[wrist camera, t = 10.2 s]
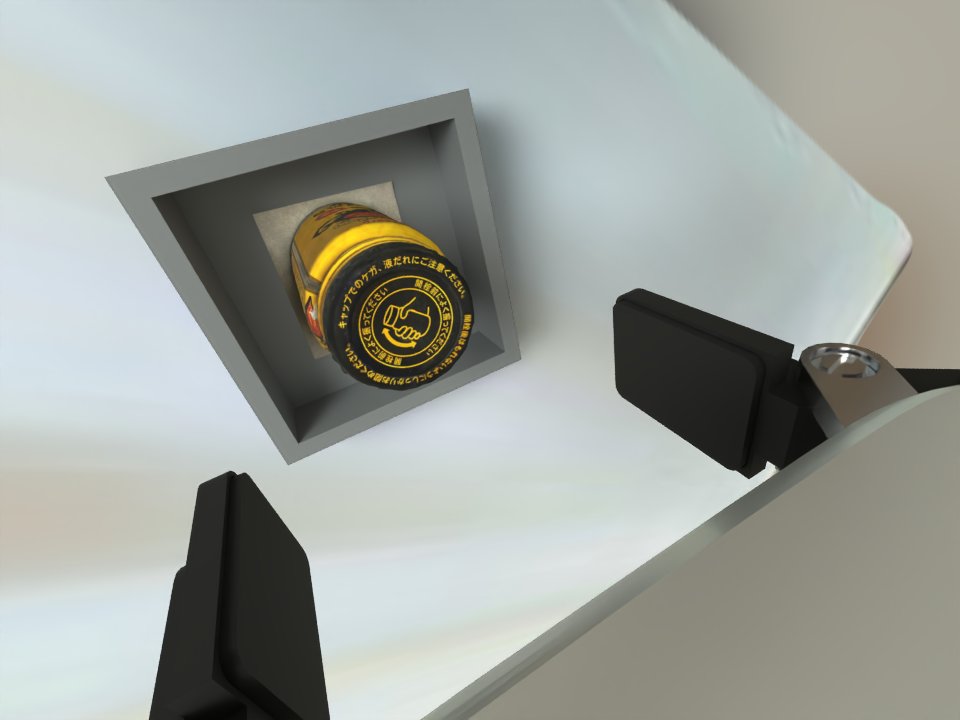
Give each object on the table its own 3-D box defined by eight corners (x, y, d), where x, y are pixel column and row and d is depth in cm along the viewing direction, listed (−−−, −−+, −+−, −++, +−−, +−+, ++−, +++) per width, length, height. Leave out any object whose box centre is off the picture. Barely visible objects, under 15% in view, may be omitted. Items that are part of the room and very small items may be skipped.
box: (135, 173, 19) (104, 177, 15) (435, 99, 23) (468, 88, 19) (285, 423, 27) (287, 465, 23) (490, 335, 31) (521, 359, 27)
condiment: (390, 180, 23) (482, 197, 13) (426, 318, 27) (517, 408, 18) (252, 213, 21) (240, 262, 11) (314, 357, 25) (345, 484, 15)
